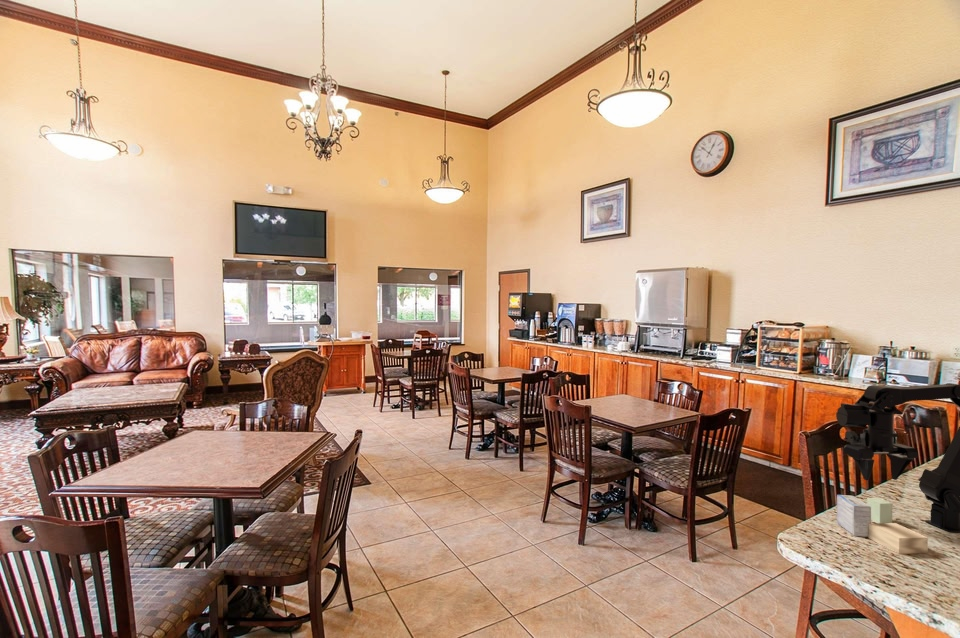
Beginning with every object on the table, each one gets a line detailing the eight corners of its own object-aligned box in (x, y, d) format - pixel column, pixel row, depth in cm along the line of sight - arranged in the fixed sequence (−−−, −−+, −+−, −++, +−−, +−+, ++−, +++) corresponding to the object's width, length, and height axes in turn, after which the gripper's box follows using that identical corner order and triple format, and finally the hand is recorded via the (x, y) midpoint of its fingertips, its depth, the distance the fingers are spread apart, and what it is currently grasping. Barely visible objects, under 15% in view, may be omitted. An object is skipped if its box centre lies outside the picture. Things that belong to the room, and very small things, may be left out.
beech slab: (895, 537, 120) (895, 523, 120) (927, 552, 112) (927, 537, 112) (868, 538, 119) (868, 523, 119) (899, 553, 111) (899, 538, 111)
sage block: (878, 517, 132) (879, 497, 132) (892, 523, 128) (892, 503, 128) (866, 517, 132) (866, 498, 132) (879, 523, 128) (880, 503, 128)
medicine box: (871, 538, 119) (872, 506, 119) (853, 536, 120) (853, 505, 120) (853, 525, 127) (853, 495, 127) (836, 523, 128) (836, 494, 128)
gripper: (881, 421, 139) (881, 469, 139) (828, 421, 138) (827, 471, 137) (919, 430, 128) (919, 482, 128) (861, 430, 126) (861, 484, 126)
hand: (880, 479), depth 130 cm, fingers open, 9 cm apart
